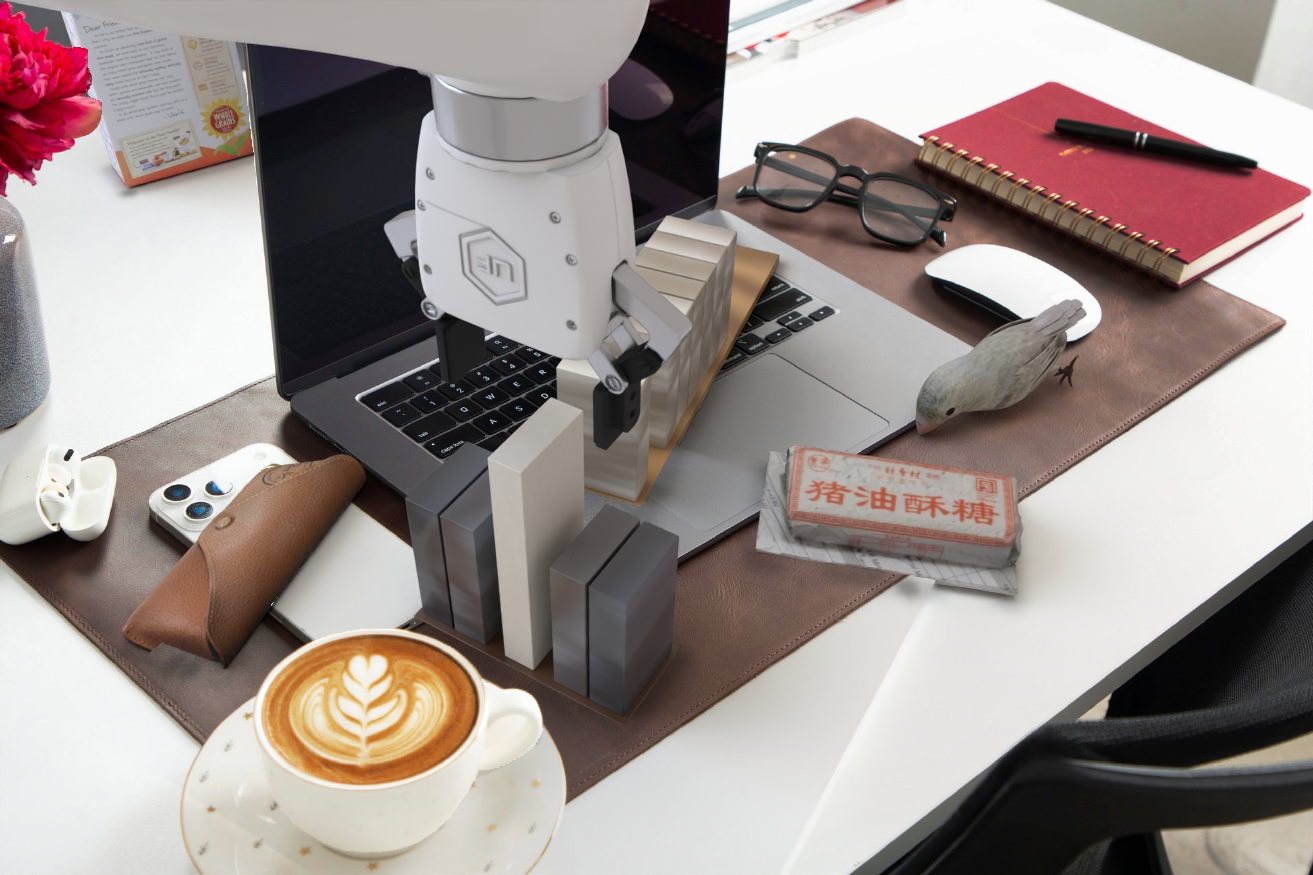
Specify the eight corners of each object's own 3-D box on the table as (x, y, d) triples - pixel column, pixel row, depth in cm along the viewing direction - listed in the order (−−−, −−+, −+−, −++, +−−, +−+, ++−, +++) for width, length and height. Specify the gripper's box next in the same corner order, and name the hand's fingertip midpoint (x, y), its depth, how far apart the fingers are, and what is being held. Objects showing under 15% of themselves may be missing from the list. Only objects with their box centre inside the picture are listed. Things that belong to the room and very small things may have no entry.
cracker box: (241, 131, 124) (195, -70, 110) (262, 154, 120) (217, -51, 106) (108, 165, 117) (41, -44, 103) (126, 190, 114) (59, -23, 100)
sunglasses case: (266, 456, 85) (293, 408, 81) (346, 510, 86) (377, 465, 82) (111, 639, 72) (133, 594, 68) (207, 699, 74) (235, 658, 69)
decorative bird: (892, 417, 92) (909, 342, 87) (1033, 355, 99) (1056, 283, 94) (938, 456, 89) (959, 381, 84) (1081, 390, 95) (1108, 316, 90)
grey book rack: (680, 655, 74) (690, 532, 66) (624, 735, 69) (627, 613, 61) (479, 557, 79) (466, 433, 72) (414, 625, 75) (393, 501, 67)
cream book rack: (640, 516, 83) (644, 394, 75) (552, 490, 84) (547, 368, 77) (778, 263, 108) (792, 152, 100) (708, 247, 110) (717, 136, 102)
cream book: (586, 606, 75) (583, 410, 64) (533, 670, 71) (521, 473, 60) (558, 593, 76) (550, 396, 64) (504, 655, 72) (486, 457, 60)
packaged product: (1023, 452, 82) (1032, 554, 75) (1007, 500, 85) (1014, 602, 78) (773, 417, 84) (758, 513, 77) (766, 465, 87) (752, 561, 80)
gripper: (308, 83, 50) (365, 383, 62) (649, 195, 44) (641, 505, 55) (418, 24, 55) (451, 313, 66) (739, 118, 49) (714, 418, 60)
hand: (537, 400), depth 61 cm, fingers open, 9 cm apart
